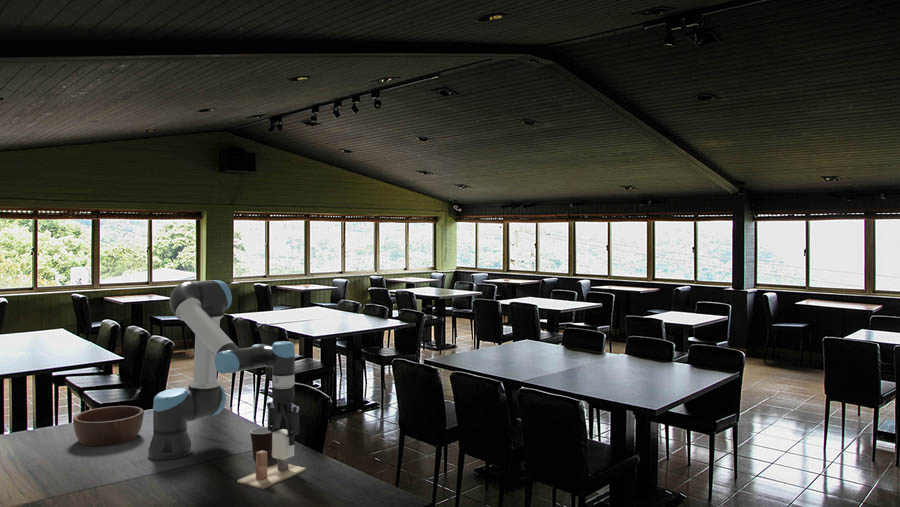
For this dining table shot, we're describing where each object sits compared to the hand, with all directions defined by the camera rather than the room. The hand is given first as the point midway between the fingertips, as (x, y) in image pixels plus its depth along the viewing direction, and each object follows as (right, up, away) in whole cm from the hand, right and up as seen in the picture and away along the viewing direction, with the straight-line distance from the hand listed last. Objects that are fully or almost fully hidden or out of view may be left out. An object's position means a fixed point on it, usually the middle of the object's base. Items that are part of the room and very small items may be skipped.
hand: (283, 452), depth 219 cm
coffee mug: (-11, -6, +15) cm, 20 cm away
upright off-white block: (0, -1, 0) cm, 1 cm away
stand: (-3, -6, -4) cm, 8 cm away
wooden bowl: (-79, -5, +34) cm, 86 cm away
